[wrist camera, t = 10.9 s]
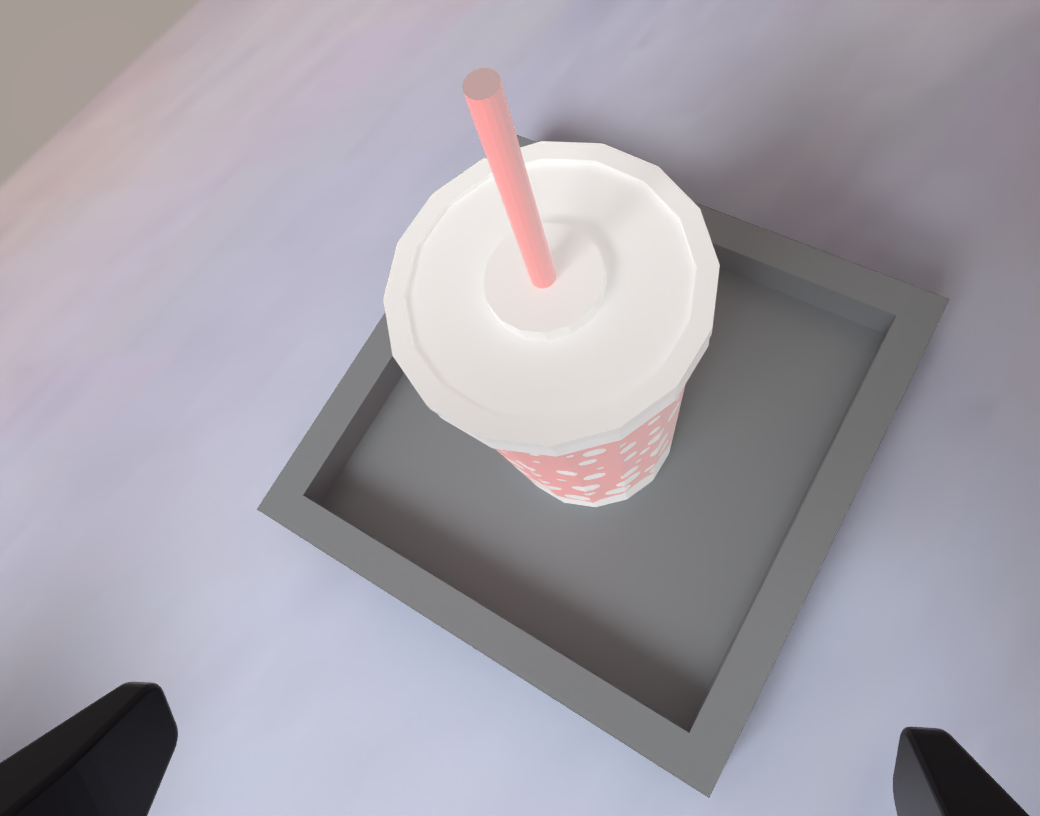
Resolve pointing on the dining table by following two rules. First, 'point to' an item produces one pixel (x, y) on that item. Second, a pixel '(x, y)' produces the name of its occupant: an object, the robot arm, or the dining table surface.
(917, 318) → the tray
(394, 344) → the beverage cup
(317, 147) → the dining table surface
